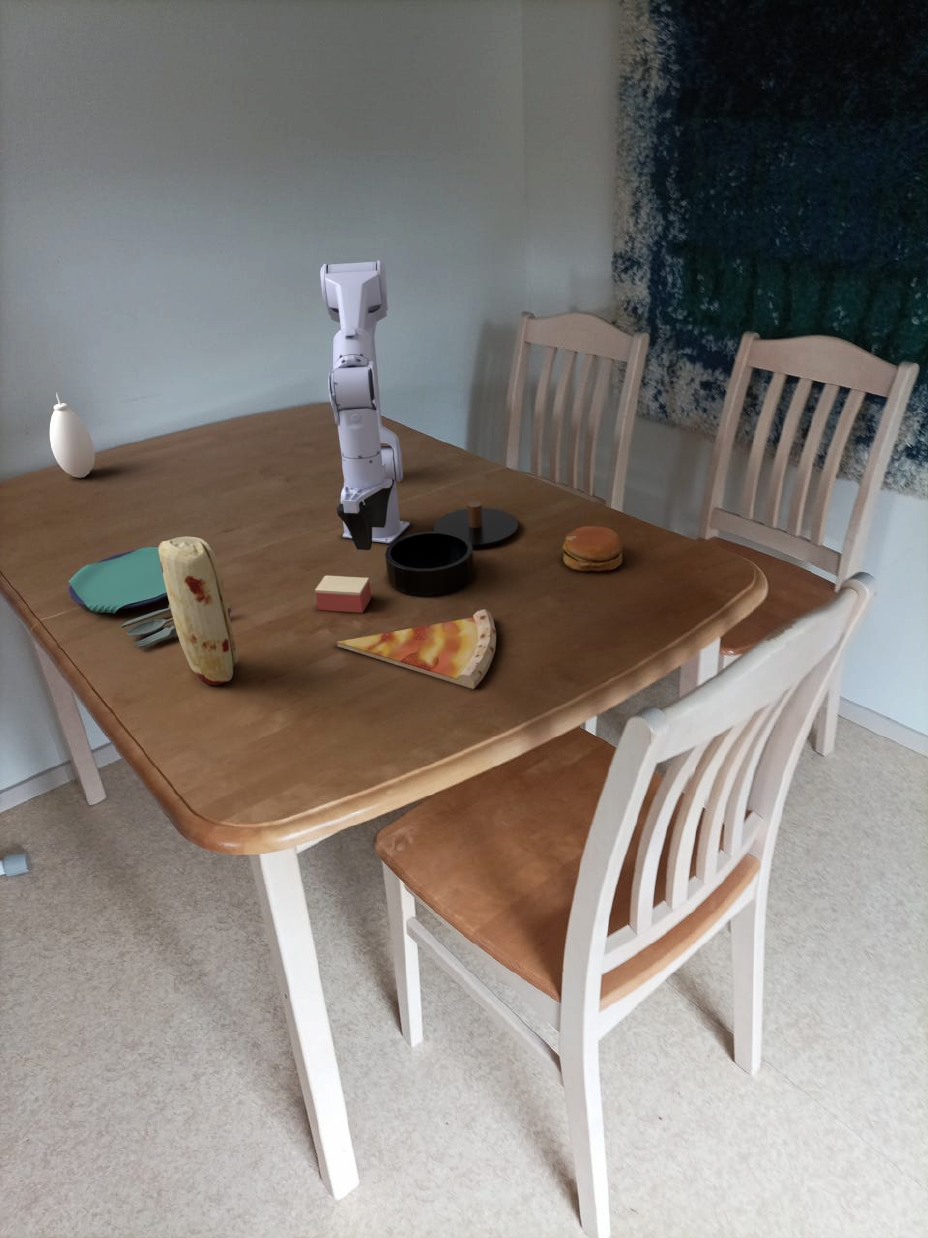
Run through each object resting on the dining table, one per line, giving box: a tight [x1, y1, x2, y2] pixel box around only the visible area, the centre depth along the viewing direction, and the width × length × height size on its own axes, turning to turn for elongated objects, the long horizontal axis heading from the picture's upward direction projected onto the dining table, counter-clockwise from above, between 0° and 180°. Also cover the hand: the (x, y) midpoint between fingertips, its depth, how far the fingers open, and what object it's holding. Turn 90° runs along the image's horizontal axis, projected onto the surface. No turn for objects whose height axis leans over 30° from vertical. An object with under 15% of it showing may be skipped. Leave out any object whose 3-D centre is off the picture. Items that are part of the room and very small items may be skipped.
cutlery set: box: [67, 546, 232, 648], centre depth 136 cm, size 20×30×2 cm, turn 37°
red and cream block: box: [314, 574, 372, 614], centre depth 131 cm, size 7×4×4 cm, turn 78°
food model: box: [158, 535, 239, 686], centre depth 113 cm, size 10×7×20 cm
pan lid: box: [433, 500, 519, 548], centre depth 150 cm, size 15×15×5 cm
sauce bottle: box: [49, 391, 96, 479], centre depth 179 cm, size 8×8×18 cm
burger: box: [561, 525, 624, 572], centre depth 139 cm, size 10×9×5 cm
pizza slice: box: [336, 608, 497, 690], centre depth 122 cm, size 16×22×2 cm
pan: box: [384, 530, 475, 598], centre depth 137 cm, size 14×14×4 cm
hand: (371, 537), depth 132 cm, fingers open, 7 cm apart
